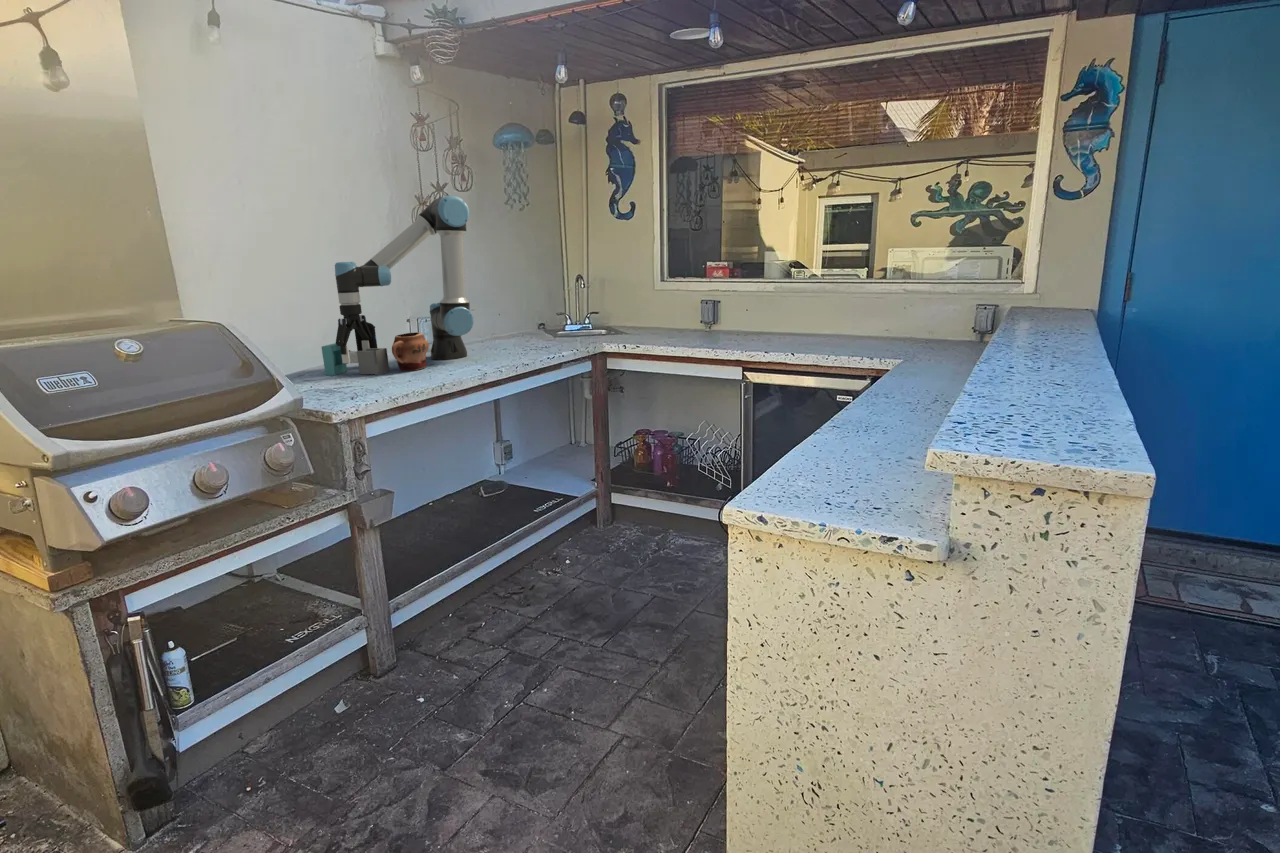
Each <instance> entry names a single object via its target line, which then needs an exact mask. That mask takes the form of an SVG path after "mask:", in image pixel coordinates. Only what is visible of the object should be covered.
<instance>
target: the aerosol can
mask: <svg viewBox="0 0 1280 853" xmlns="http://www.w3.org/2000/svg"><path fill="white" fill-rule="evenodd" d="M365 320H366V323H367V325H368V327H369V330H370V332H371V334H372V339H371V340H369V345H370V348H378V344H377V343H378V341H377V335H376V326H375V325H374V324H372V322H368V321H367V318H366V316H365ZM353 330H354V336H355V343H356V351H363V349H362V341H364V340H363V339H362V338H361V336H360V335H359V333H358V332H357V330H356V329H353Z"/></svg>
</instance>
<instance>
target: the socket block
mask: <svg viewBox="0 0 1280 853" xmlns="http://www.w3.org/2000/svg"><path fill="white" fill-rule="evenodd" d="M321 353H322V359H323V365H324V366H323V367H324V374H325V376H336V375H340V374H343V373H346V372H345V371H347V372H348V367H347V366H348V364H345V365H343V363H342V356H341V349H340V346H337V345H336V342H334V343H330V344H326V345H322V346H321ZM342 372H343V373H342Z"/></svg>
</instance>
